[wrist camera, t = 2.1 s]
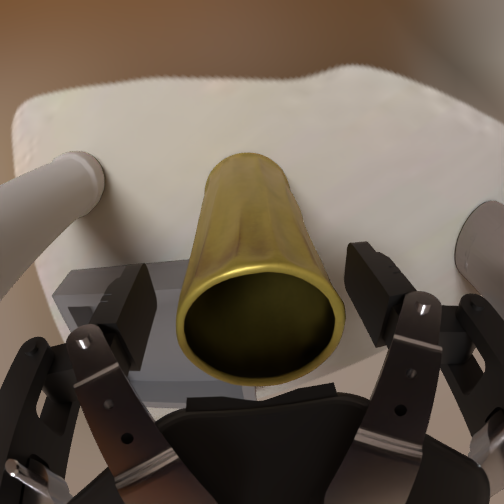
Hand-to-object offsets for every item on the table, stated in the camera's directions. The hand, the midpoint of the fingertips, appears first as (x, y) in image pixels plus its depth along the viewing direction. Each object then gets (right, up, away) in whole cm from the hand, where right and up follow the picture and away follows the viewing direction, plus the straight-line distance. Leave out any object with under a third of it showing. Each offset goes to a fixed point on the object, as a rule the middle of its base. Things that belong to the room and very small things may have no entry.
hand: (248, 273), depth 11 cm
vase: (0, +5, +10) cm, 11 cm away
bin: (-8, -7, +16) cm, 19 cm away
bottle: (-13, +7, +8) cm, 17 cm away
